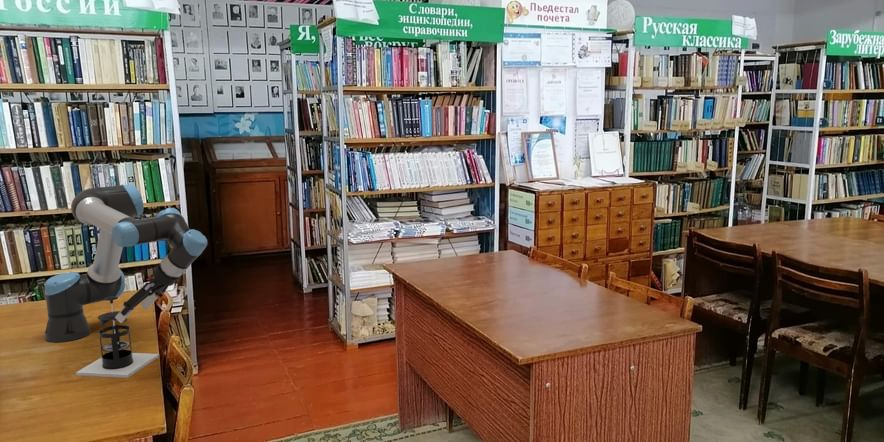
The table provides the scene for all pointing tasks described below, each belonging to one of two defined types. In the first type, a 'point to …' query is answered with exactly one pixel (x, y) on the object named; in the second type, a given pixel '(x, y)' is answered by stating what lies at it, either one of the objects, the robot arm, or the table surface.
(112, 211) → the robot arm
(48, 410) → the table surface
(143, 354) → the white square mat
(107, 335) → the french press
